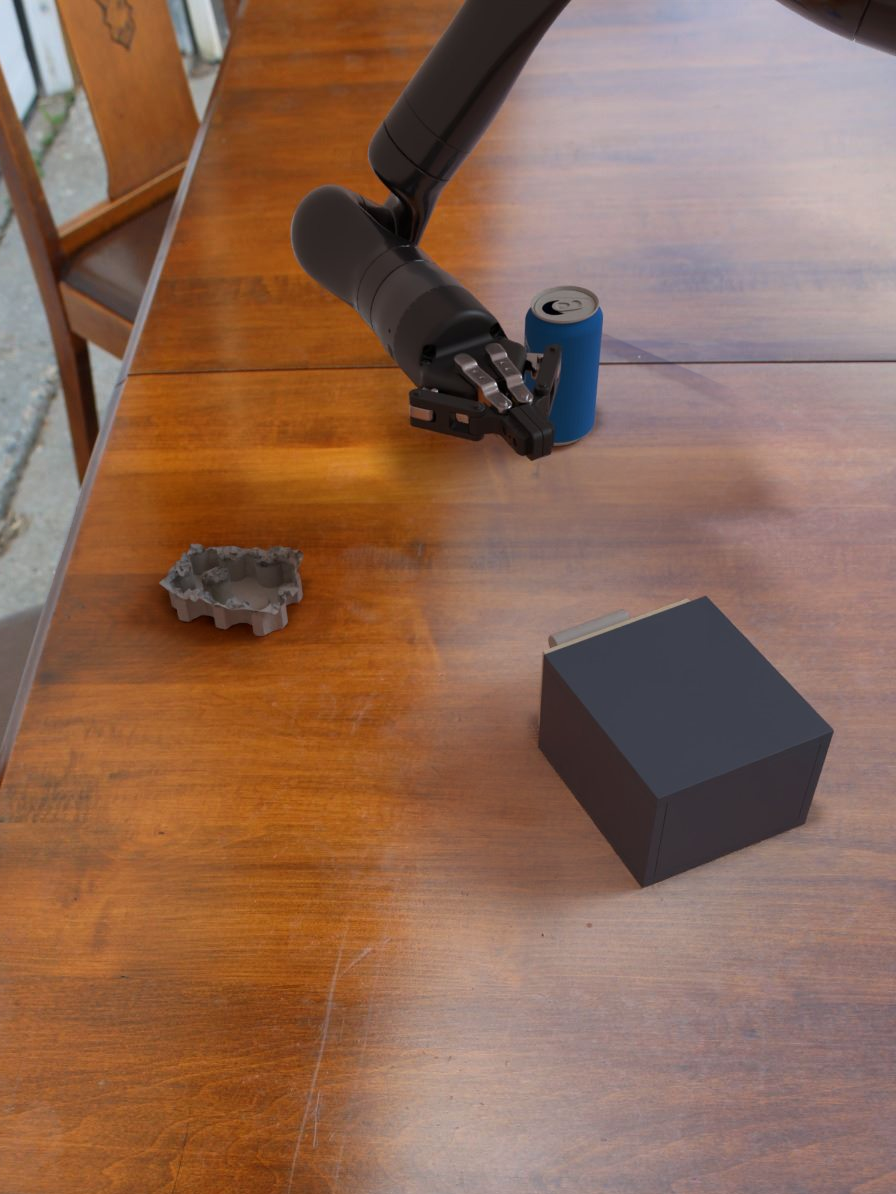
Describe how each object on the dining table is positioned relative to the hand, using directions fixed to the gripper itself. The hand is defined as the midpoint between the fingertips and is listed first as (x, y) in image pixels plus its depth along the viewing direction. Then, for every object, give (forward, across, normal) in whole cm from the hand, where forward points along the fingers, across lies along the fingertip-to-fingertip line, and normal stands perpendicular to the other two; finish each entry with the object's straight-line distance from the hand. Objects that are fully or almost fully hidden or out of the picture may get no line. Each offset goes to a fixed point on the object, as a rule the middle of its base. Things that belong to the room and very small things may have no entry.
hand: (542, 446), depth 93 cm
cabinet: (+20, 0, +16) cm, 25 cm away
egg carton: (-13, -20, +16) cm, 29 cm away
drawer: (+16, 0, +15) cm, 22 cm away
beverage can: (-21, +14, +16) cm, 30 cm away
